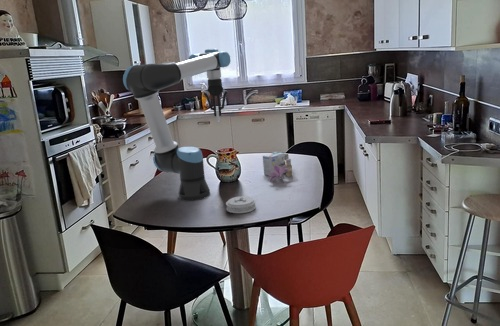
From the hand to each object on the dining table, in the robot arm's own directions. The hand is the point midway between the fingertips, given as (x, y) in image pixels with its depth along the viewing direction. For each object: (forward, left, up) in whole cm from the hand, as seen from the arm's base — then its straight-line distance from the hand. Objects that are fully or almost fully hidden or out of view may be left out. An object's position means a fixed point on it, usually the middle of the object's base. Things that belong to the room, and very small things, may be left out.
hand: (218, 121), depth 235 cm
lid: (-62, -11, -30) cm, 70 cm away
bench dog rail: (-9, -36, -29) cm, 47 cm away
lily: (-24, -30, -30) cm, 49 cm away
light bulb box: (-8, -29, -30) cm, 42 cm away
